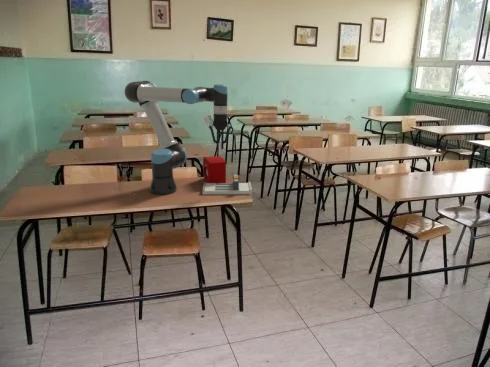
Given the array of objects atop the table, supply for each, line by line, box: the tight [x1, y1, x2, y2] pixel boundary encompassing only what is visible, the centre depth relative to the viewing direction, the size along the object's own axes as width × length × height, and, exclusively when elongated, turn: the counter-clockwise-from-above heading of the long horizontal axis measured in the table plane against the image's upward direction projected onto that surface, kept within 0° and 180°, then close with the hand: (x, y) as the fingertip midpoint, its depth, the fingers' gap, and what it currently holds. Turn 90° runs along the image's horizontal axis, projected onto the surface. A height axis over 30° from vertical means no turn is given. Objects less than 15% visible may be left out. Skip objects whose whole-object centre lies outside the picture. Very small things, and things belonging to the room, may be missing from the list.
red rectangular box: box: [202, 155, 227, 183], centre depth 249 cm, size 16×11×15 cm
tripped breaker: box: [232, 175, 240, 182], centre depth 233 cm, size 3×3×5 cm
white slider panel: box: [202, 174, 253, 195], centre depth 233 cm, size 28×15×8 cm, turn 93°
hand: (219, 154), depth 228 cm, fingers closed
